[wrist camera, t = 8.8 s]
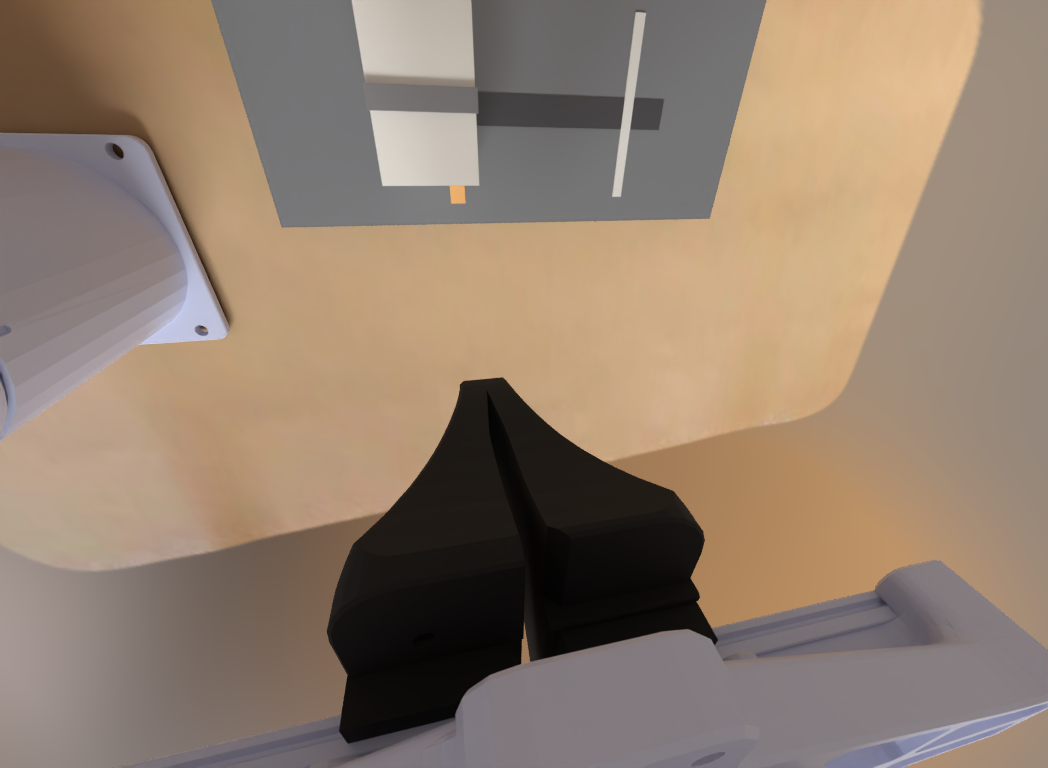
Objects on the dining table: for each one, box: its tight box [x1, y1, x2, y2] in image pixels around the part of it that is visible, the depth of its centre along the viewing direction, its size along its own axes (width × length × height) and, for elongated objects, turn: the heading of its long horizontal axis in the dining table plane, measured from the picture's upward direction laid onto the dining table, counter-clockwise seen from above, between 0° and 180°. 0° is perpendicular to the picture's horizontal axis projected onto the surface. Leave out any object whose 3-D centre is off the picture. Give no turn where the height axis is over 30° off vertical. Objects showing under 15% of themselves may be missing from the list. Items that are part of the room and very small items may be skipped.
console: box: [211, 0, 766, 227], centre depth 15 cm, size 19×8×2 cm, turn 89°
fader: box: [352, 0, 479, 186], centre depth 12 cm, size 3×4×4 cm
